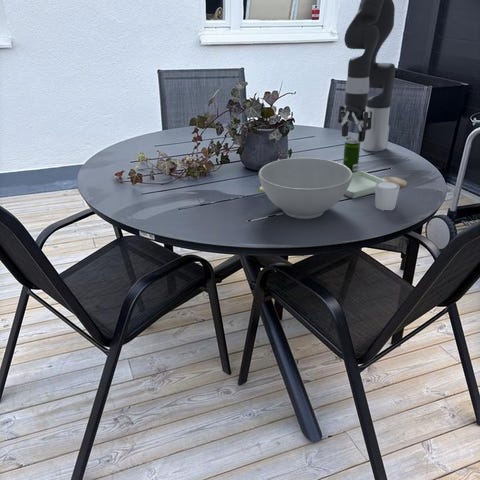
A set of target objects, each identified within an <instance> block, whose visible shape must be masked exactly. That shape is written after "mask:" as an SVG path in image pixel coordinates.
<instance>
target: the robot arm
mask: <svg viewBox="0 0 480 480" xmlns="http://www.w3.org/2000/svg"><path fill="white" fill-rule="evenodd" d="M395 9H396V8H395V3H394V1H393V0H360V3H359V5H358V9H357V12H356V14H355V15H354V17H353V19H352V20H351V22H350V24H349V25H348V27H347V29H346V31H345V34H344V44H345V46H346V47H347V48H348V49H350V50H364V51H363V53H362V55H359V56H354V57H351V58H350V59H349V60H348V63H347V65H348V66H347V77H346V84H345V94H344V97H345V98H344V105H340V106H339V107H338V108H339V110H338V117H337V122H338V124H340V125H341V136H342V137H345V138H346V137H349V136H348V135H349V127H350V126H349V124H350V123H351V122H352V123H355V125H356V126H357V127H358V128H357V129H358V141H359V142H360V143H362V146H361V149H363V150H364V151H367V152H382V151H385V150H386V149H388V142H389V134H390V124H389V120H390V119H389V118H390V112H391V111H390V110H391V103H392V95H393V90H394V89H393V88H394V85H395V84H394V82H395V76H396V65H395V64H394V63H391V62H389V63H388V62H377V57H378V53H379V51H380V49H381V48H382V46H383V44H384V43H385V42H386V41H387V39H388V37H389V36H390V34H392V31H393V29H394V26H395V12H396V11H395ZM370 89H382V91H381V92H380V93H379V94H377V95H374V96H373V95H372V96H369V91H370Z"/></svg>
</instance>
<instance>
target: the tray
mask: <svg viewBox="0 0 480 480" xmlns="http://www.w3.org/2000/svg"><path fill="white" fill-rule="evenodd" d="M352 174H353V177H352V180H351V183H350V185H349V187H348V189H347V191H346V192H345V194H344V195H345V196H346V197H348V198H351V199H352V200H353V199H357V198H361V197H364V196H367V195H370V194H375V192H376V183H378V182H383V181H386V180H383V179H382V178H380V177H378V176H376V175H374V174H371V173H368V172H366V171H365V170H364V171H363V170H357V172H354V173H352ZM344 195H343V196H344Z"/></svg>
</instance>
